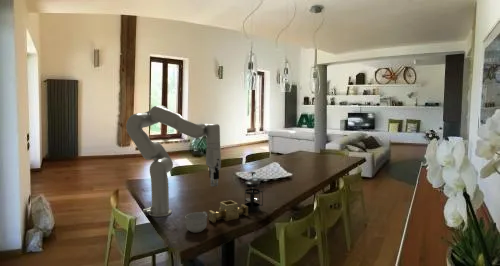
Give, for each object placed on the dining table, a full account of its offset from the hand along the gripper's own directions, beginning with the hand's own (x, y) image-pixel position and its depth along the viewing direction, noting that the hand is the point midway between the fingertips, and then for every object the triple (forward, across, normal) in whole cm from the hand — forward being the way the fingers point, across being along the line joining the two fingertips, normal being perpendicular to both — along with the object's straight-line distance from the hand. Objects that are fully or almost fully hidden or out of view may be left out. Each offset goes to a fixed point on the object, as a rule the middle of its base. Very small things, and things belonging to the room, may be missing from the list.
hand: (214, 178), depth 187 cm
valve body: (+22, +7, +5) cm, 24 cm away
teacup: (+22, +13, -17) cm, 31 cm away
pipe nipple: (+4, 0, 0) cm, 4 cm away
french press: (+22, +3, +24) cm, 33 cm away
